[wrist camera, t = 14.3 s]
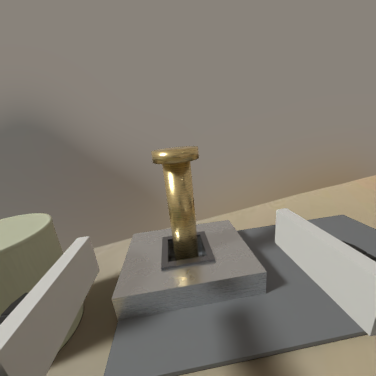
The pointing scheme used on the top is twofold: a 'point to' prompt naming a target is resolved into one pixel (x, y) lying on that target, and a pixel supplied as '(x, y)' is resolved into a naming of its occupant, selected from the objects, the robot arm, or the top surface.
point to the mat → (243, 316)
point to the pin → (180, 197)
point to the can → (28, 257)
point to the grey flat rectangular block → (186, 272)
